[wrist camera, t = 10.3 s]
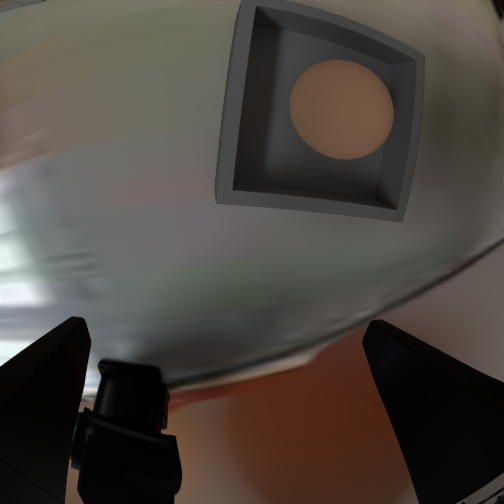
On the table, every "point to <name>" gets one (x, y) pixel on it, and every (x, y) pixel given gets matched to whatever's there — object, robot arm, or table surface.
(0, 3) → the coffee box
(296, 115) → the ball
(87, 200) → the table surface
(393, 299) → the table surface
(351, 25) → the grey open square tray
